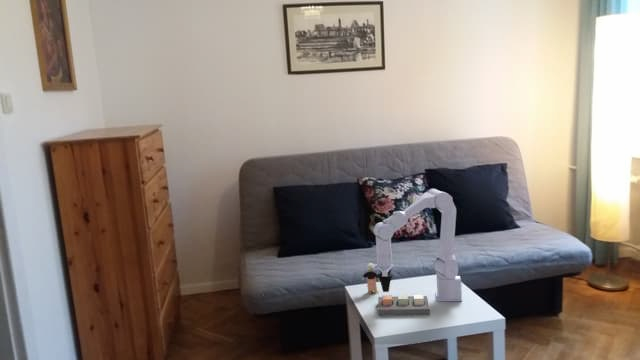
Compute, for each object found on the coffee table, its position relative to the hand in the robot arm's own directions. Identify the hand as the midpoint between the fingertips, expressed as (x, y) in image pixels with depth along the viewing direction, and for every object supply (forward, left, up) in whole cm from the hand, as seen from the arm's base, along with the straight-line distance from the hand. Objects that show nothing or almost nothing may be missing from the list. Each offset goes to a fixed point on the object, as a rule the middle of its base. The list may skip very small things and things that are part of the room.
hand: (385, 287), depth 195 cm
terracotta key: (0, +1, -7) cm, 7 cm away
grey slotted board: (-6, +1, -8) cm, 11 cm away
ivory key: (-12, +1, -6) cm, 14 cm away
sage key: (-6, +1, -6) cm, 9 cm away
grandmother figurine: (+6, -16, -9) cm, 20 cm away
